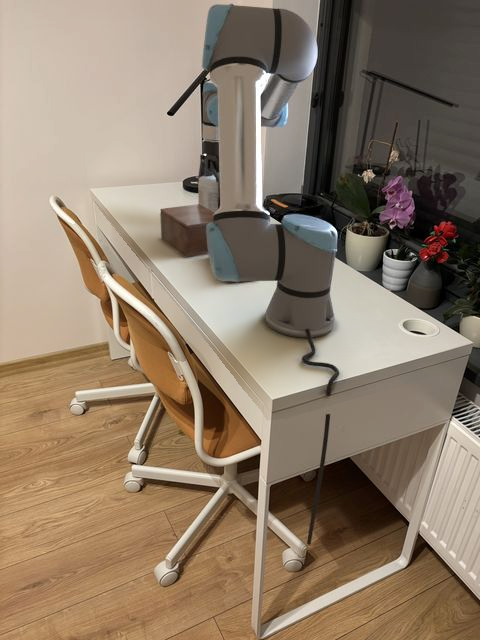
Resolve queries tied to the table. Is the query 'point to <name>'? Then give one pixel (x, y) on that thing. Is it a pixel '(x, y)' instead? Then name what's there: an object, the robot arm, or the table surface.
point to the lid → (190, 215)
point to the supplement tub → (208, 192)
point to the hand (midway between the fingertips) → (213, 214)
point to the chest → (184, 237)
